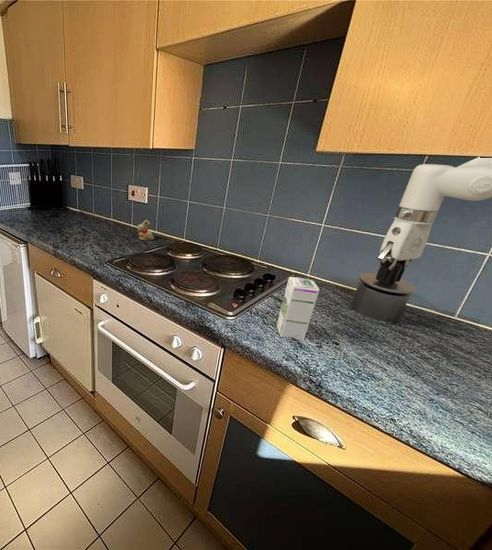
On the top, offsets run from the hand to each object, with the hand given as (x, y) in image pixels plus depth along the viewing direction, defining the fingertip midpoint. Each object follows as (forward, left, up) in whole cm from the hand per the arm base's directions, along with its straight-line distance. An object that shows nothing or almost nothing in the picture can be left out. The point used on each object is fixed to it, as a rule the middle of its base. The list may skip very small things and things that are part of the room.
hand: (387, 279), depth 84 cm
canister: (0, 0, -11) cm, 11 cm away
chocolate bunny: (+76, -53, -11) cm, 93 cm away
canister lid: (0, 0, -1) cm, 1 cm away
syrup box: (+28, +18, -11) cm, 35 cm away
